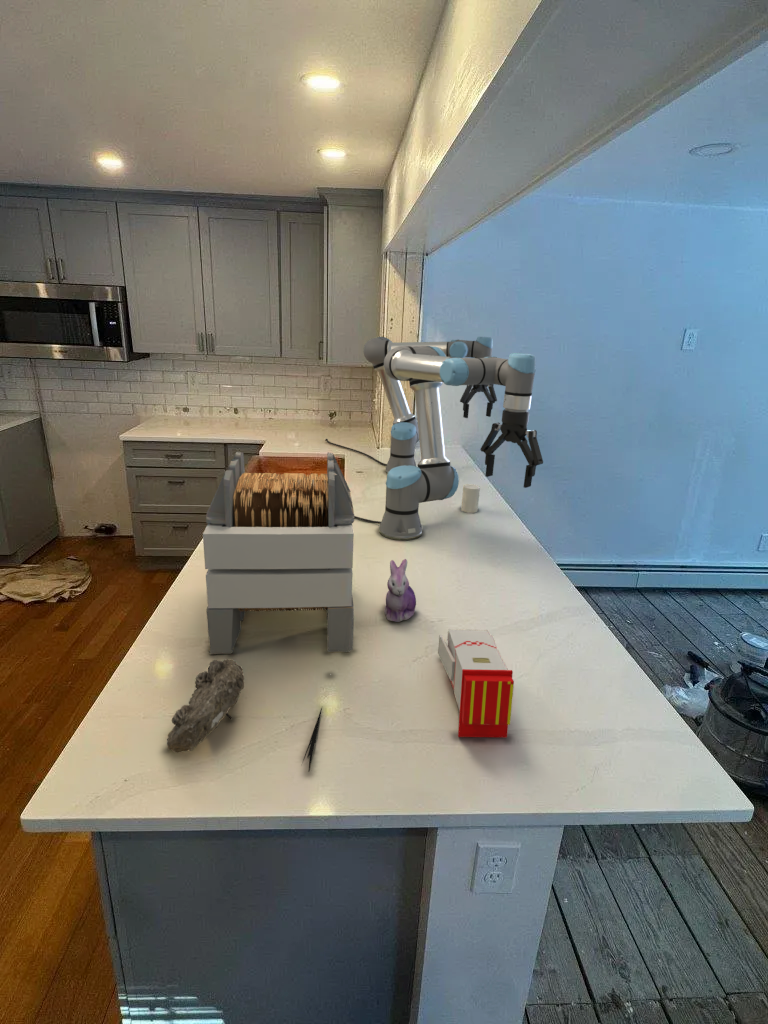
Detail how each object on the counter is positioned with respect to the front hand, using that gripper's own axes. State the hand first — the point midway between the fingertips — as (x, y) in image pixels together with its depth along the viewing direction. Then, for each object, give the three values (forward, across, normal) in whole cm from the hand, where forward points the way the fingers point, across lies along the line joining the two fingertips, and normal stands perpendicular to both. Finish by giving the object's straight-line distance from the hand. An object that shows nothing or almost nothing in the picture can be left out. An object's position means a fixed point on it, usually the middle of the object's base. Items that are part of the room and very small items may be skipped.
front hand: (507, 481), depth 169 cm
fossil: (+28, -6, +100) cm, 104 cm away
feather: (+28, -20, +85) cm, 92 cm away
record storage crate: (+28, +16, +68) cm, 76 cm away
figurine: (+28, -2, +45) cm, 53 cm away
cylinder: (+28, +39, -35) cm, 59 cm away
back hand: (0, +73, -80) cm, 109 cm away
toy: (+28, -34, +56) cm, 71 cm away
